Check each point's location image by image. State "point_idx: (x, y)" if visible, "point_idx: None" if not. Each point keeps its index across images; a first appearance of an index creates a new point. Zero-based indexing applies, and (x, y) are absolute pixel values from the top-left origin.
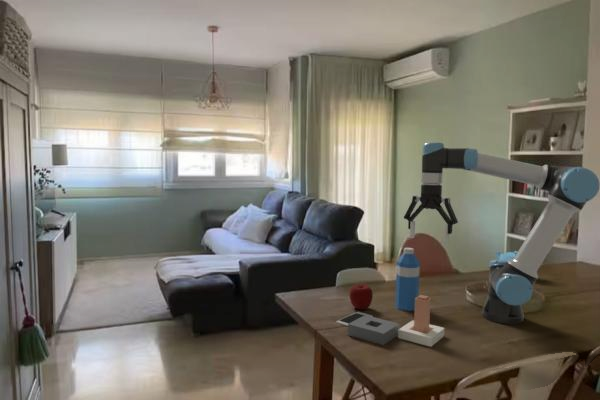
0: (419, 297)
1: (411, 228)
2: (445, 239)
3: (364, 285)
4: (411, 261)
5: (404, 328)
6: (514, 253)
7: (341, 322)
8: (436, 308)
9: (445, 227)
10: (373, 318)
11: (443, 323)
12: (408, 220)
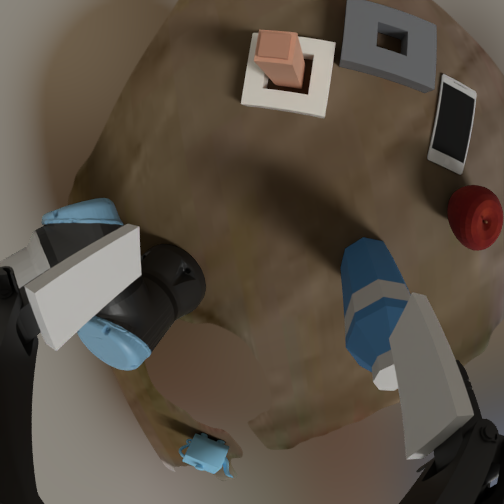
0: (282, 33)
1: (443, 352)
2: (118, 233)
3: (481, 237)
4: (377, 322)
5: (325, 54)
6: (202, 467)
7: (466, 89)
8: (299, 281)
9: (48, 280)
10: (408, 71)
11: (265, 185)
12: (491, 423)
